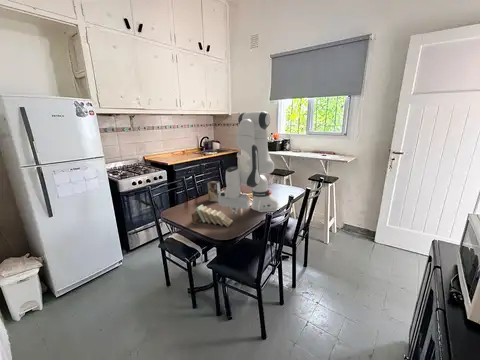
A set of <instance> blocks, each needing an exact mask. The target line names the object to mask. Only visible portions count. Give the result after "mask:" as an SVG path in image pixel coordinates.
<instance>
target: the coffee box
mask: <svg viewBox="0 0 480 360" xmlns="http://www.w3.org/2000/svg"><path fill="white" fill-rule="evenodd" d="M220 192H221V182H220V181H216V180H215V181H213V180H209V181H208V182H207V193H208V202H216V203H219V197H220V196H219V193H220Z"/></svg>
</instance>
